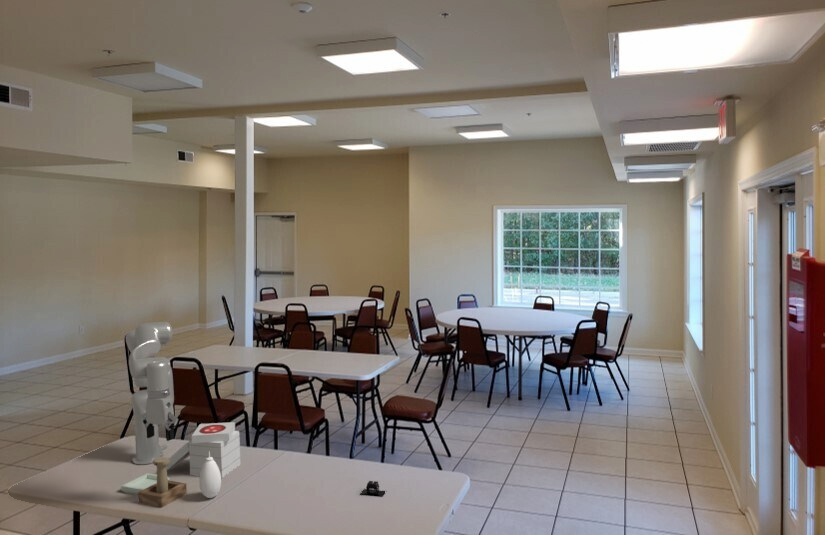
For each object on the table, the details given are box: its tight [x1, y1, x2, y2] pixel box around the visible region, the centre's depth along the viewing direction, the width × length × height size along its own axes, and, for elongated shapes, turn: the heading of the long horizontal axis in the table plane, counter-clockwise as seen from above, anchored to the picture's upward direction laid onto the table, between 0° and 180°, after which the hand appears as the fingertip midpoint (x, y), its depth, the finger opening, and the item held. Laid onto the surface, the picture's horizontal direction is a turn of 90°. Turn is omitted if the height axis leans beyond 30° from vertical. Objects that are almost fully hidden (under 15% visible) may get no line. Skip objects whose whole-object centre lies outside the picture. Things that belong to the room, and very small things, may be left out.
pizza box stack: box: [166, 421, 242, 479], centre depth 254 cm, size 19×30×18 cm, turn 77°
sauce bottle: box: [198, 452, 222, 499], centre depth 226 cm, size 8×8×18 cm
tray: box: [120, 472, 171, 496], centre depth 236 cm, size 13×12×2 cm
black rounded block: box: [359, 480, 386, 498], centre depth 227 cm, size 12×7×5 cm, turn 76°
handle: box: [152, 456, 170, 494], centre depth 226 cm, size 5×6×15 cm
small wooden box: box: [137, 480, 188, 508], centre depth 226 cm, size 12×12×4 cm
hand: (160, 438), depth 225 cm, fingers open, 9 cm apart
